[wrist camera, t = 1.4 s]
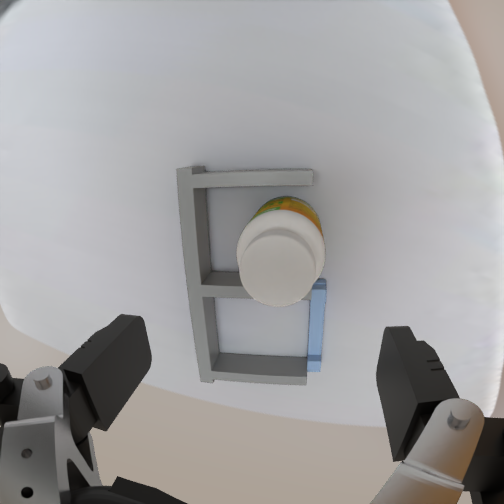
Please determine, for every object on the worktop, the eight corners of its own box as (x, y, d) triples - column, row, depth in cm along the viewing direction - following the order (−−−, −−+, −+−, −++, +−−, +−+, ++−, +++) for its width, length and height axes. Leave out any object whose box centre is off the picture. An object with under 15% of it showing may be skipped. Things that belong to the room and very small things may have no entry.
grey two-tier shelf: (190, 166, 25) (176, 168, 22) (311, 162, 24) (312, 163, 21) (209, 363, 31) (200, 381, 28) (306, 369, 29) (305, 389, 26)
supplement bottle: (282, 181, 24) (269, 198, 15) (334, 226, 25) (351, 268, 16) (240, 232, 26) (205, 276, 17) (290, 273, 27) (282, 336, 17)
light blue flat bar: (311, 279, 26) (311, 287, 25) (325, 279, 26) (326, 287, 24) (307, 361, 29) (306, 372, 27) (319, 361, 29) (319, 372, 27)
